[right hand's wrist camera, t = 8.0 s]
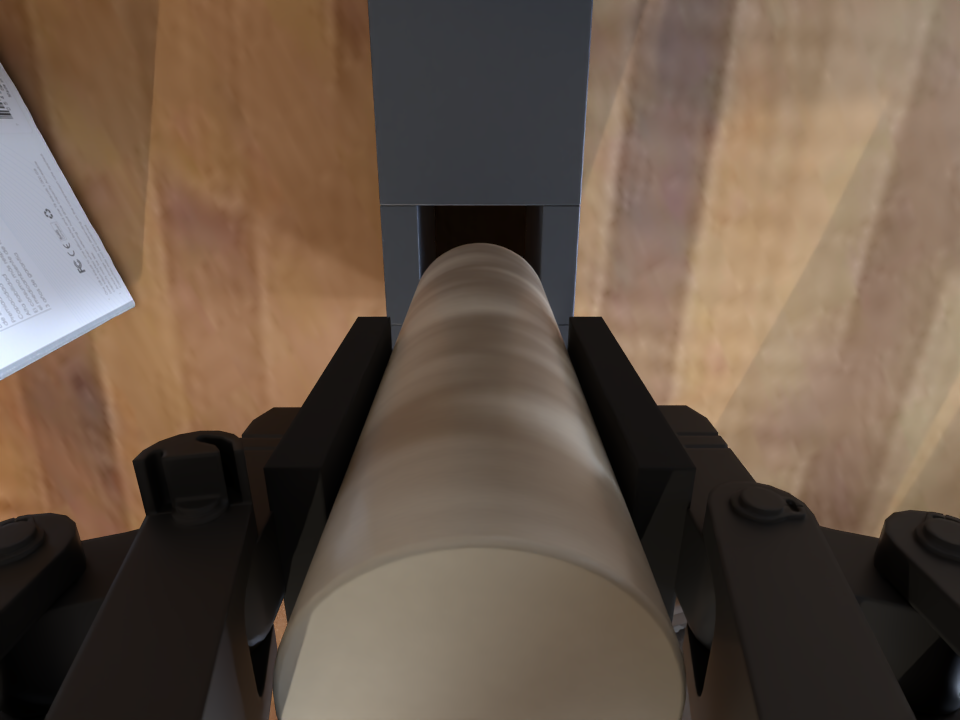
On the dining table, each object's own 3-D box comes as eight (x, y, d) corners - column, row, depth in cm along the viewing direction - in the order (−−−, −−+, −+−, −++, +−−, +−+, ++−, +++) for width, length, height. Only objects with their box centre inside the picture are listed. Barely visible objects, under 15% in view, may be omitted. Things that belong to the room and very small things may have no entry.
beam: (384, -300, 25) (336, -517, 16) (576, -300, 25) (624, -517, 16) (411, 300, 34) (389, 357, 26) (549, 300, 34) (571, 357, 26)
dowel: (566, 269, 19) (769, 615, 6) (517, 384, 20) (587, 872, 7) (438, 222, 18) (331, 482, 5) (397, 345, 19) (232, 792, 6)
